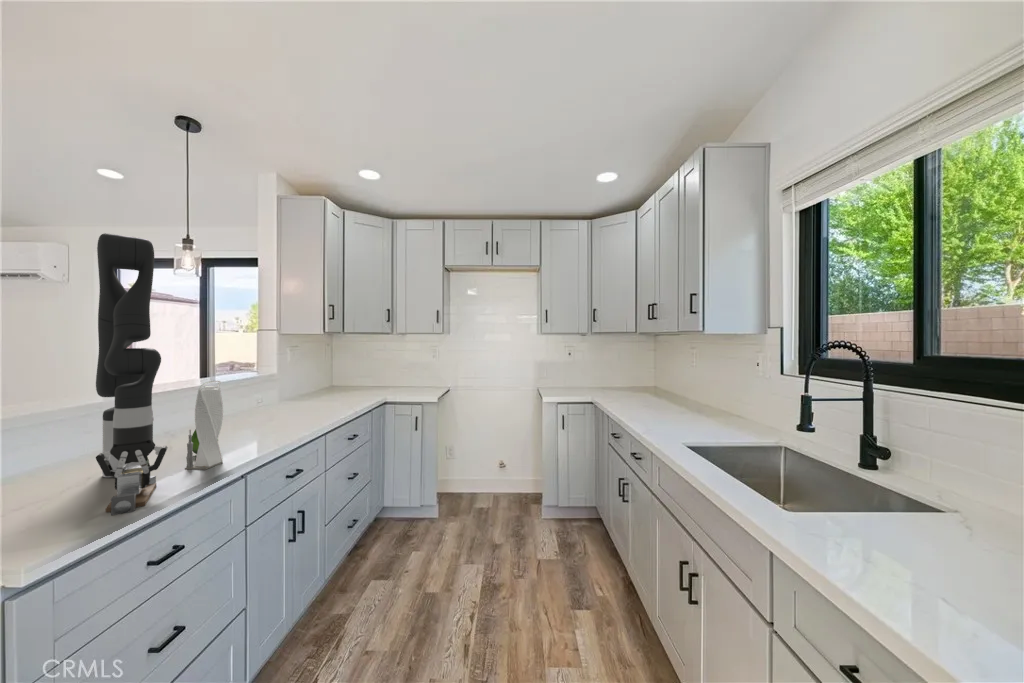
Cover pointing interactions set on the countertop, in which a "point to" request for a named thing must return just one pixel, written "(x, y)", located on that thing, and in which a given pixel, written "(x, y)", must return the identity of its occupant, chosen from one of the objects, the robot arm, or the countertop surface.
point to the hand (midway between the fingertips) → (133, 488)
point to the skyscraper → (207, 428)
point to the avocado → (195, 442)
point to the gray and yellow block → (130, 481)
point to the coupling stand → (131, 499)
